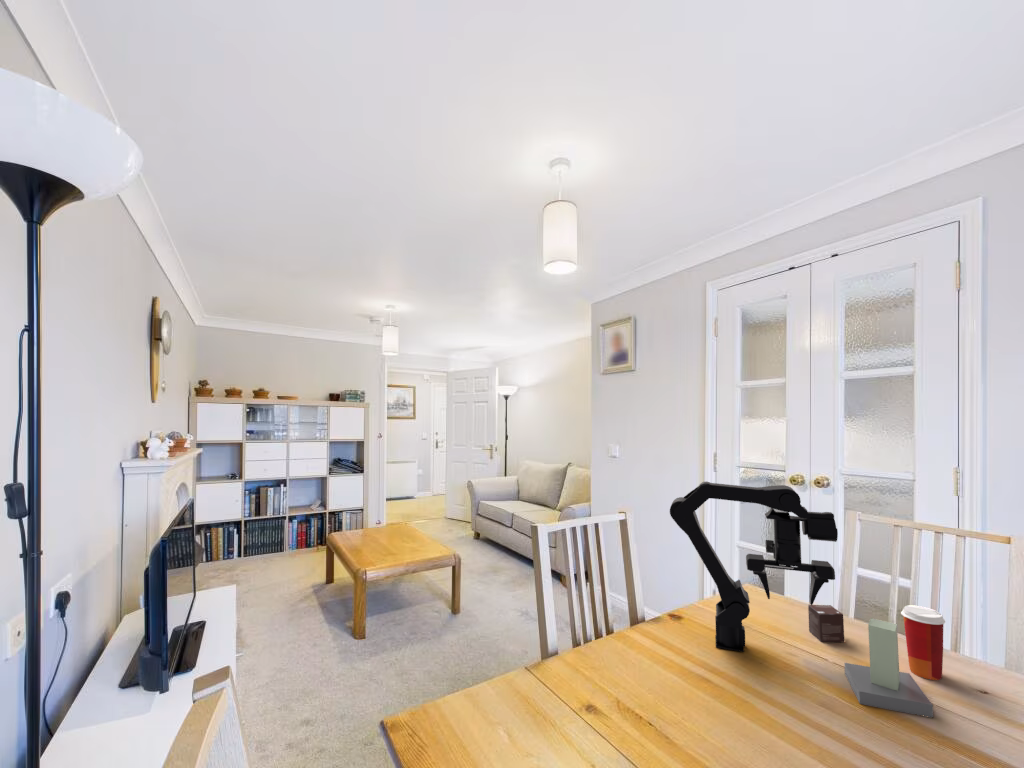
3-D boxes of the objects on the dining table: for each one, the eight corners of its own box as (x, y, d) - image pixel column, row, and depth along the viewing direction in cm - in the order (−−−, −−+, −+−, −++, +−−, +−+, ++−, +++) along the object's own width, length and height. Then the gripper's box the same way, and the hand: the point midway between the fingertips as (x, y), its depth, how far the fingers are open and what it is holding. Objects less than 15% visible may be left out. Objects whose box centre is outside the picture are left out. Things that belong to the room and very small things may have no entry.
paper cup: (937, 667, 112) (934, 606, 112) (955, 685, 104) (952, 620, 105) (897, 662, 114) (894, 602, 115) (912, 679, 107) (909, 615, 108)
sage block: (870, 682, 102) (868, 624, 102) (873, 673, 105) (870, 618, 105) (897, 691, 99) (895, 631, 99) (899, 681, 102) (897, 624, 102)
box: (832, 632, 130) (831, 604, 130) (845, 643, 124) (844, 614, 124) (808, 631, 130) (807, 604, 131) (820, 642, 124) (819, 613, 125)
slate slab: (859, 703, 98) (859, 691, 98) (844, 673, 109) (844, 662, 110) (933, 717, 94) (932, 704, 94) (909, 685, 105) (909, 673, 105)
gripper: (824, 533, 123) (826, 594, 122) (743, 526, 130) (745, 585, 130) (834, 544, 113) (837, 612, 112) (746, 537, 120) (748, 600, 119)
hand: (789, 601), depth 119 cm, fingers open, 9 cm apart
